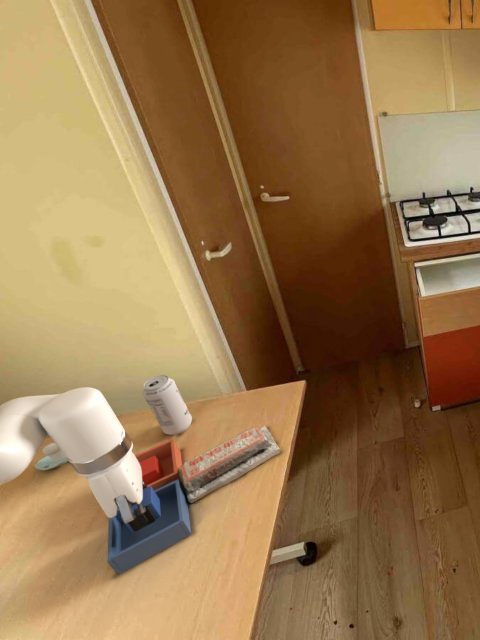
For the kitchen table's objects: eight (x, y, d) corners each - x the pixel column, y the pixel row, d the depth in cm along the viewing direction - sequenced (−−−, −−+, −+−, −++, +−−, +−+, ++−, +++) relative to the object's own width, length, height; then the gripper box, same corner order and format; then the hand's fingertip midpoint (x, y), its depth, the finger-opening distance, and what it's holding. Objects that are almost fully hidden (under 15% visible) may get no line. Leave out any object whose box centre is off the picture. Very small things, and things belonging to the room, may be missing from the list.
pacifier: (38, 463, 97) (40, 478, 93) (24, 444, 94) (25, 459, 91) (81, 442, 102) (84, 456, 98) (68, 424, 99) (71, 437, 96)
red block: (138, 495, 90) (129, 481, 88) (137, 479, 93) (129, 466, 91) (164, 482, 92) (156, 469, 90) (162, 468, 95) (155, 454, 93)
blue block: (131, 532, 79) (120, 518, 77) (131, 513, 82) (121, 499, 80) (161, 517, 81) (151, 502, 79) (159, 499, 84) (150, 485, 82)
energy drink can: (198, 422, 107) (177, 378, 100) (172, 440, 102) (148, 395, 95) (185, 413, 110) (163, 370, 103) (159, 431, 105) (134, 386, 98)
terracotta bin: (118, 519, 86) (108, 505, 84) (119, 479, 93) (110, 466, 91) (185, 486, 92) (177, 472, 90) (180, 451, 100) (173, 438, 98)
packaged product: (182, 491, 86) (172, 460, 92) (190, 506, 88) (180, 474, 94) (276, 439, 97) (262, 414, 103) (281, 453, 99) (267, 428, 105)
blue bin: (118, 574, 77) (107, 561, 75) (118, 526, 84) (108, 512, 82) (191, 534, 83) (183, 520, 81) (185, 492, 91) (178, 478, 89)
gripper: (76, 431, 77) (120, 493, 85) (68, 501, 65) (119, 565, 73) (129, 411, 81) (165, 472, 89) (130, 473, 69) (172, 537, 78)
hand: (144, 513), depth 81 cm, fingers closed on blue block, 4 cm apart
